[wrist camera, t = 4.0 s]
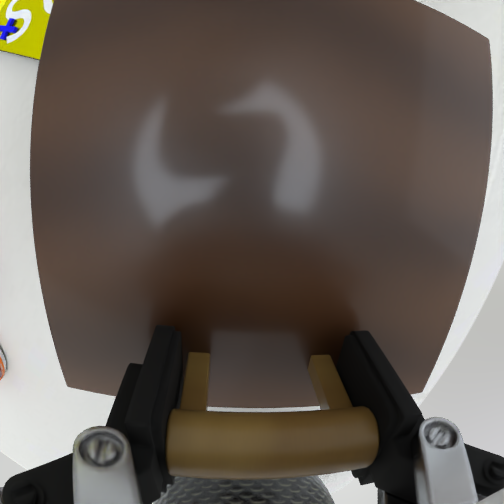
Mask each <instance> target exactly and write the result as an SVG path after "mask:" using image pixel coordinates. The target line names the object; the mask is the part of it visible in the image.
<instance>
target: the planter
mask: <svg viewBox="0 0 504 504" xmlns="http://www.w3.org/2000/svg"><path fill="white" fill-rule="evenodd" d="M153 504H335V503H334V501H333V499H332V497H331V495H330V493H329V492H328V490H327V488H326V487H325V485H324V484H323V482H322V481H321V479H320V478H319V477H318V476H317V475H315V476H306V477H295V478H280V479H256V480H229V479H204V478H190V477H179V476H175V481H174V485H169V484H167V493H162V492H161V498H160V499H158V500H156V501H154V502H153Z"/></svg>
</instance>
